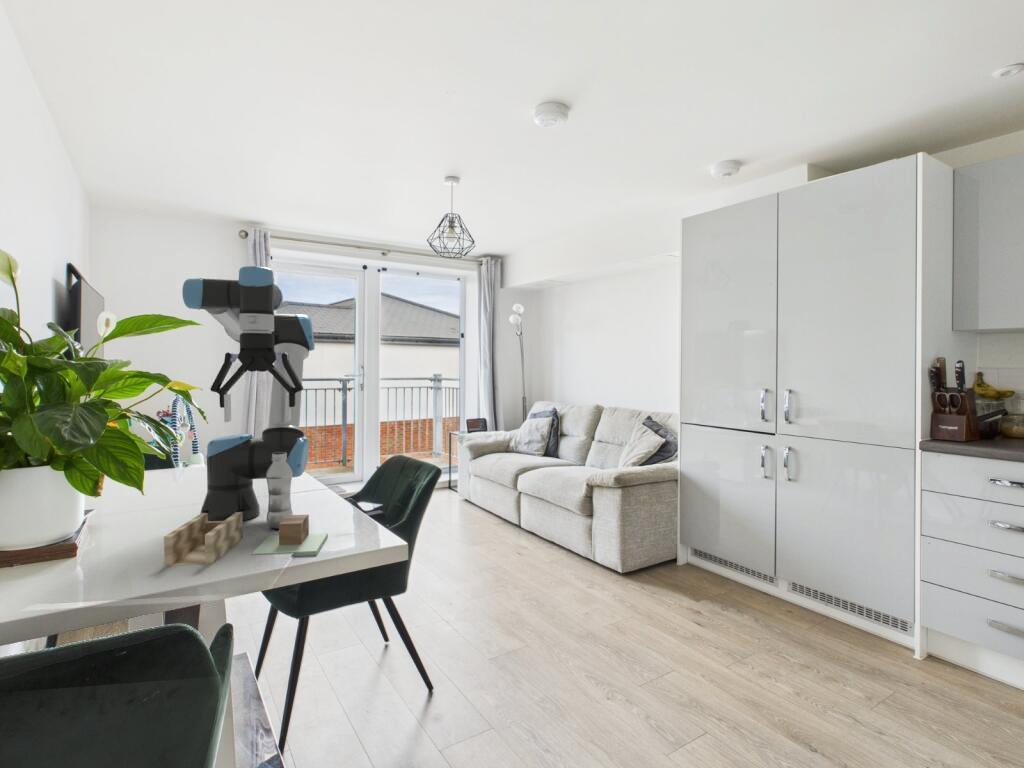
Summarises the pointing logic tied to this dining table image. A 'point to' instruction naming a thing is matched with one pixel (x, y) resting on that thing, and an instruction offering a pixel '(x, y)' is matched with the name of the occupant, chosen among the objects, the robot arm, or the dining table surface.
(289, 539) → the walnut block
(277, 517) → the plastic bottle
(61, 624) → the dining table surface
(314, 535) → the green pad
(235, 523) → the oak rack
